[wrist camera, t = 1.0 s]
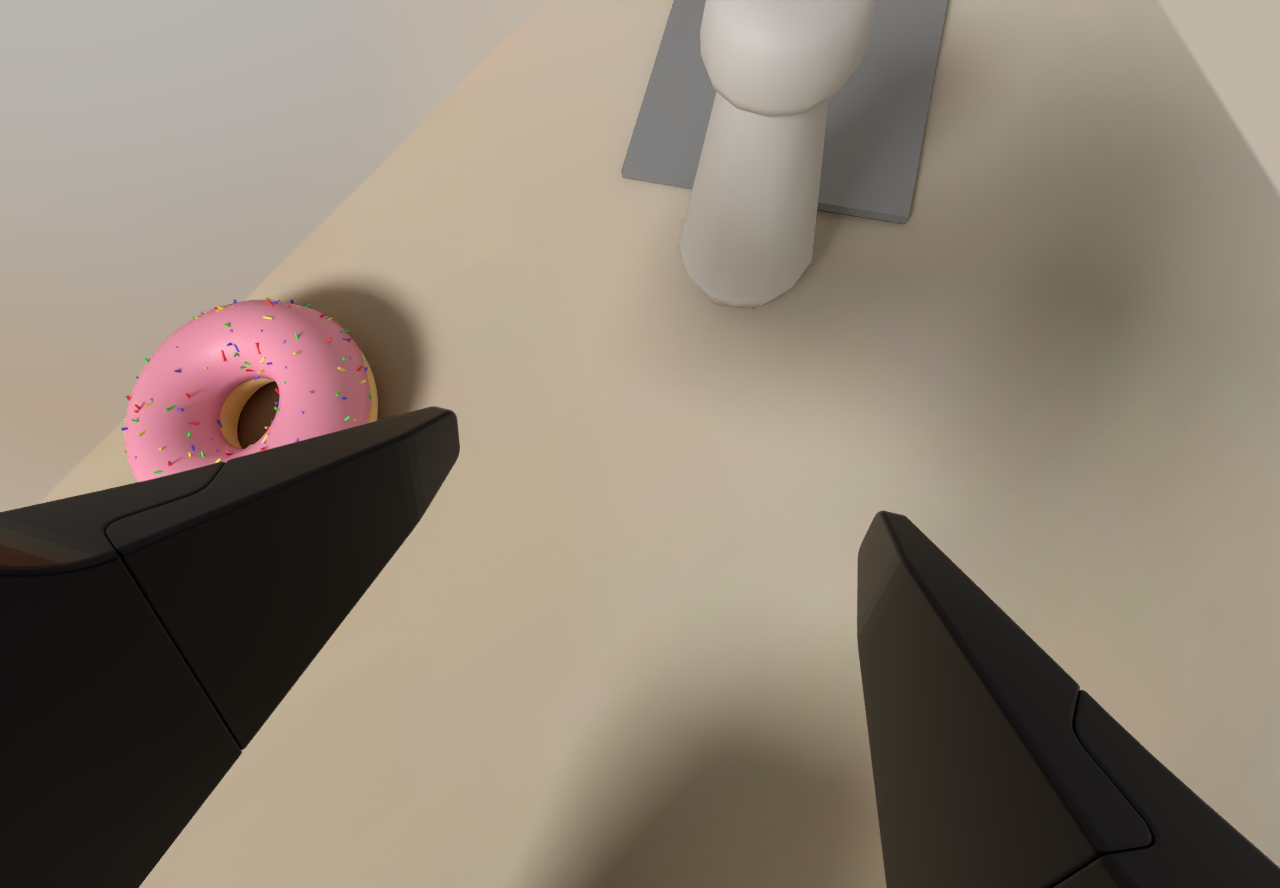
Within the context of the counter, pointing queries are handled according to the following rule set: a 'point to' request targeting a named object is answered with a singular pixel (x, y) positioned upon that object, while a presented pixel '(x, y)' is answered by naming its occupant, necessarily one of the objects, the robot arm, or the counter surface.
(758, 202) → the salt shaker
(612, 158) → the counter surface
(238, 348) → the doughnut
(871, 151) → the mat
